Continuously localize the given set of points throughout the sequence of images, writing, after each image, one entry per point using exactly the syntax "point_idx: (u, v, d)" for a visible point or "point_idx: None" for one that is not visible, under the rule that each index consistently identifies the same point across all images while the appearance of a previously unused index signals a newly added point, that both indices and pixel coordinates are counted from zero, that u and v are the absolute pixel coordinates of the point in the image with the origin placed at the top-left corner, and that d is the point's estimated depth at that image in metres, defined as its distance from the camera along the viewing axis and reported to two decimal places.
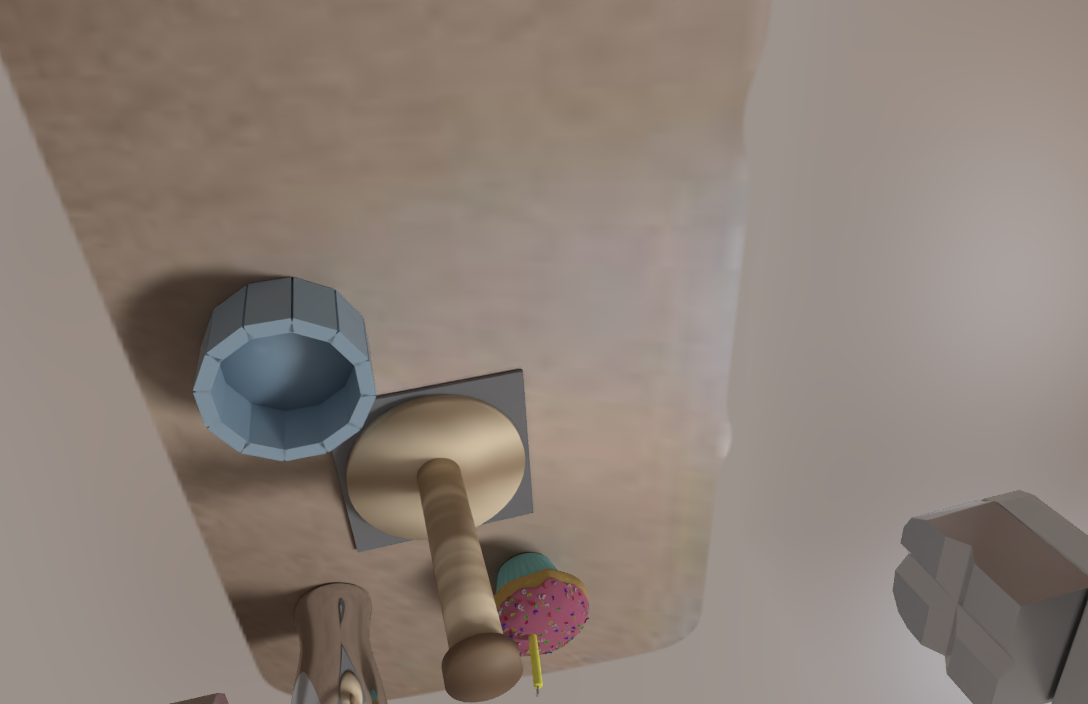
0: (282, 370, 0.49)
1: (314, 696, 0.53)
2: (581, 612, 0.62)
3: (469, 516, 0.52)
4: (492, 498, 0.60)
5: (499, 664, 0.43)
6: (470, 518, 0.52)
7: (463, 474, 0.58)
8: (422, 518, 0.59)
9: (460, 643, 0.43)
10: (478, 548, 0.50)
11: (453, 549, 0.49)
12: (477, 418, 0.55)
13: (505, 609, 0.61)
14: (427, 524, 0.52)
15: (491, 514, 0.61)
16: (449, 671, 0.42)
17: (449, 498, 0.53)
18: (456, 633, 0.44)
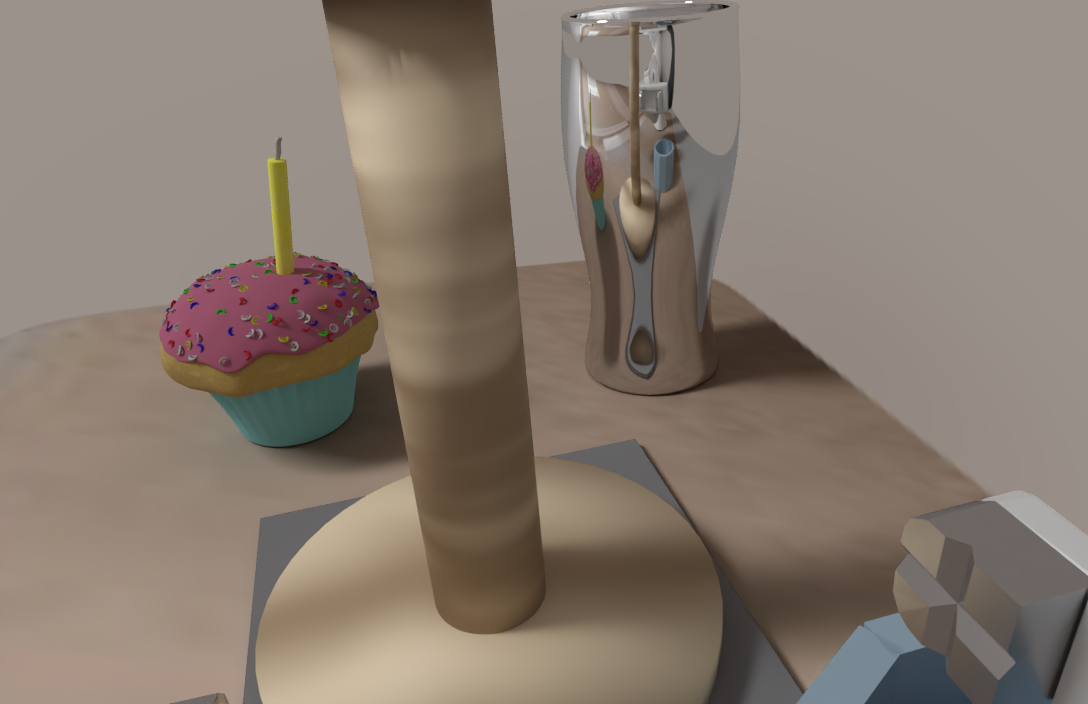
0: None
1: (708, 162, 0.29)
2: (176, 311, 0.30)
3: (420, 455, 0.19)
4: (354, 540, 0.25)
5: None
6: (416, 450, 0.19)
7: (426, 593, 0.22)
8: None
9: None
10: (397, 352, 0.17)
11: (470, 339, 0.17)
12: None
13: (337, 318, 0.30)
14: (530, 440, 0.20)
15: (358, 506, 0.26)
16: None
17: (472, 509, 0.19)
18: (477, 47, 0.15)
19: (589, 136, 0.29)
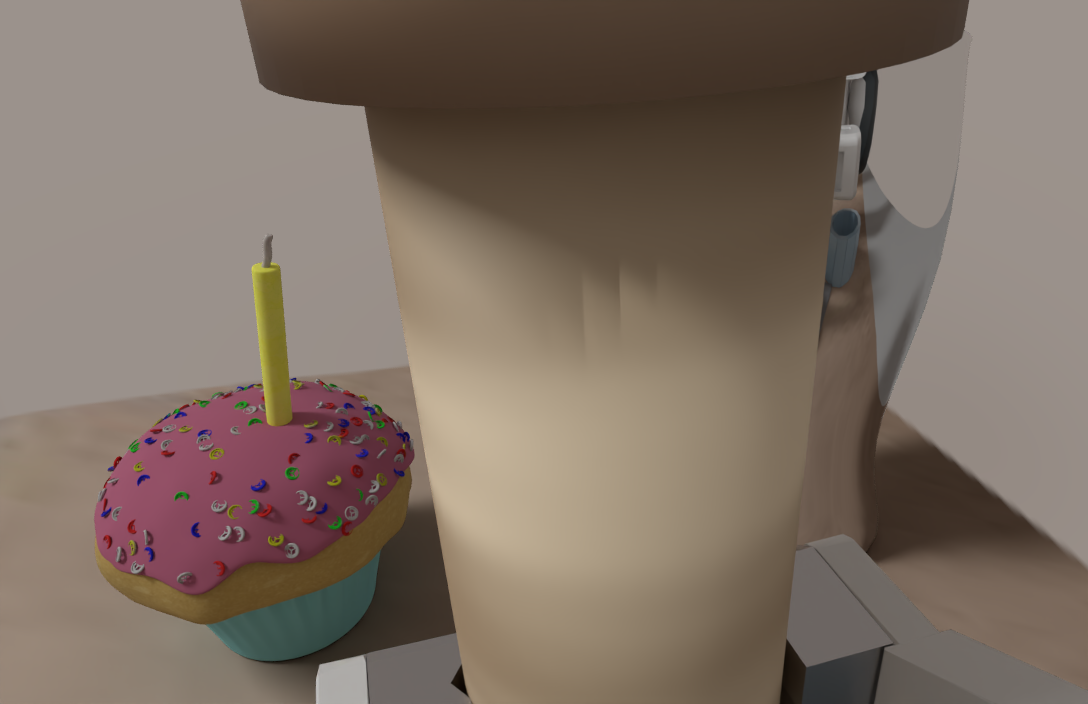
0: None
1: (916, 268, 0.19)
2: (117, 483, 0.20)
3: None
4: None
5: None
6: None
7: None
8: None
9: (919, 26, 0.04)
10: None
11: None
12: None
13: (356, 495, 0.20)
14: None
15: None
16: None
17: None
18: (821, 235, 0.05)
19: None
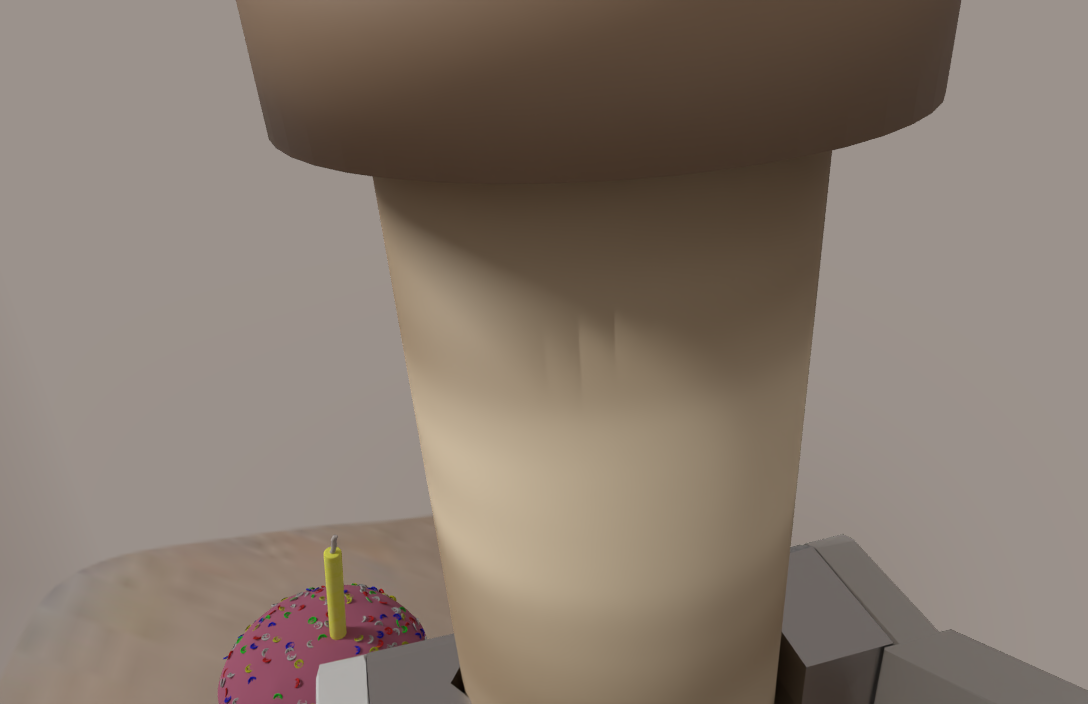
0: None
1: None
2: (233, 678, 0.31)
3: None
4: None
5: None
6: None
7: None
8: None
9: (900, 100, 0.04)
10: None
11: None
12: None
13: None
14: None
15: None
16: None
17: None
18: (808, 283, 0.05)
19: None
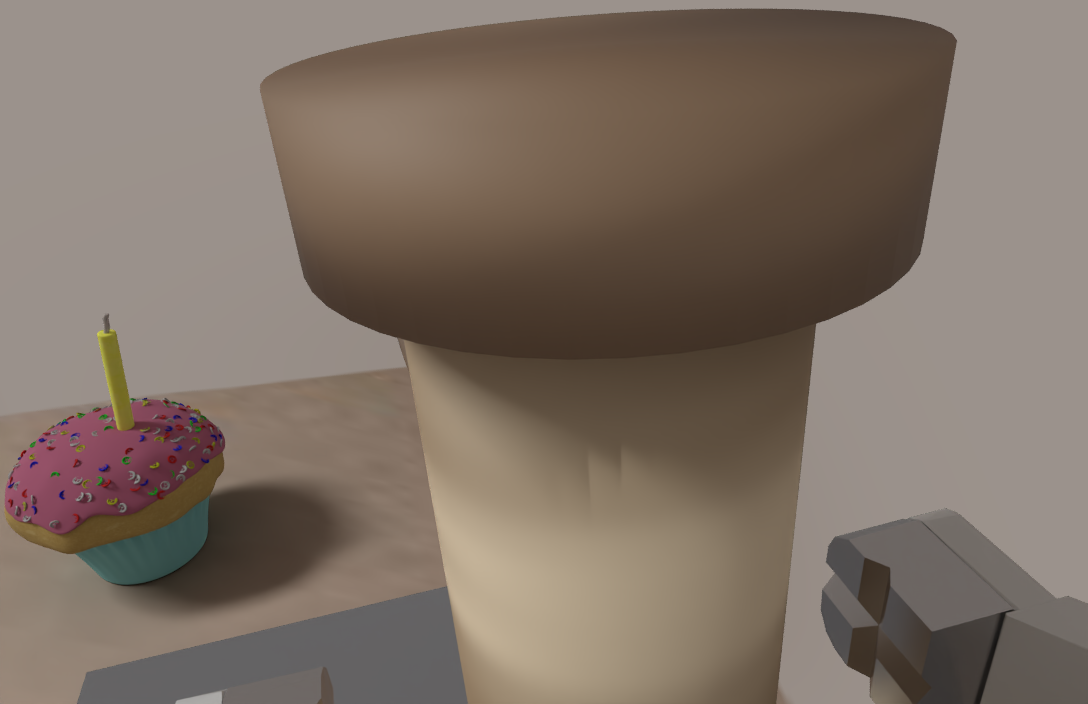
0: None
1: None
2: (19, 467, 0.32)
3: None
4: None
5: (483, 78, 0.04)
6: None
7: None
8: None
9: (878, 272, 0.04)
10: None
11: None
12: None
13: (169, 474, 0.32)
14: None
15: None
16: (954, 44, 0.05)
17: None
18: (798, 400, 0.06)
19: None
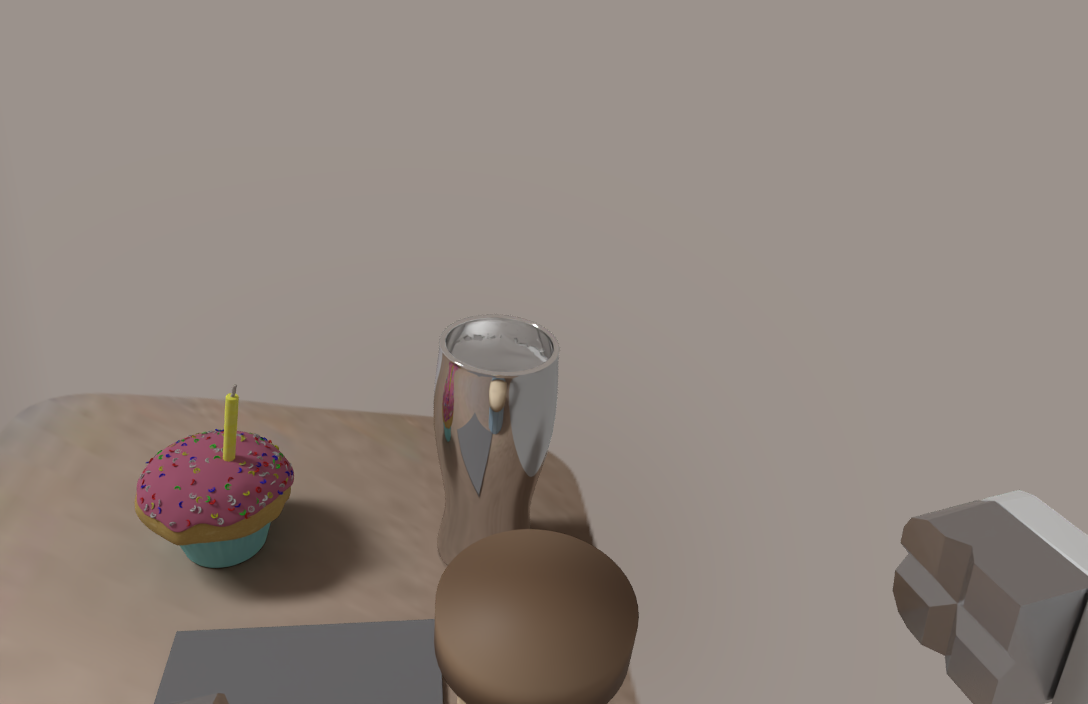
0: None
1: (518, 454, 0.42)
2: (150, 473, 0.44)
3: None
4: None
5: (498, 631, 0.16)
6: None
7: None
8: None
9: None
10: None
11: None
12: None
13: (255, 501, 0.44)
14: None
15: None
16: (630, 646, 0.16)
17: None
18: None
19: (442, 420, 0.43)
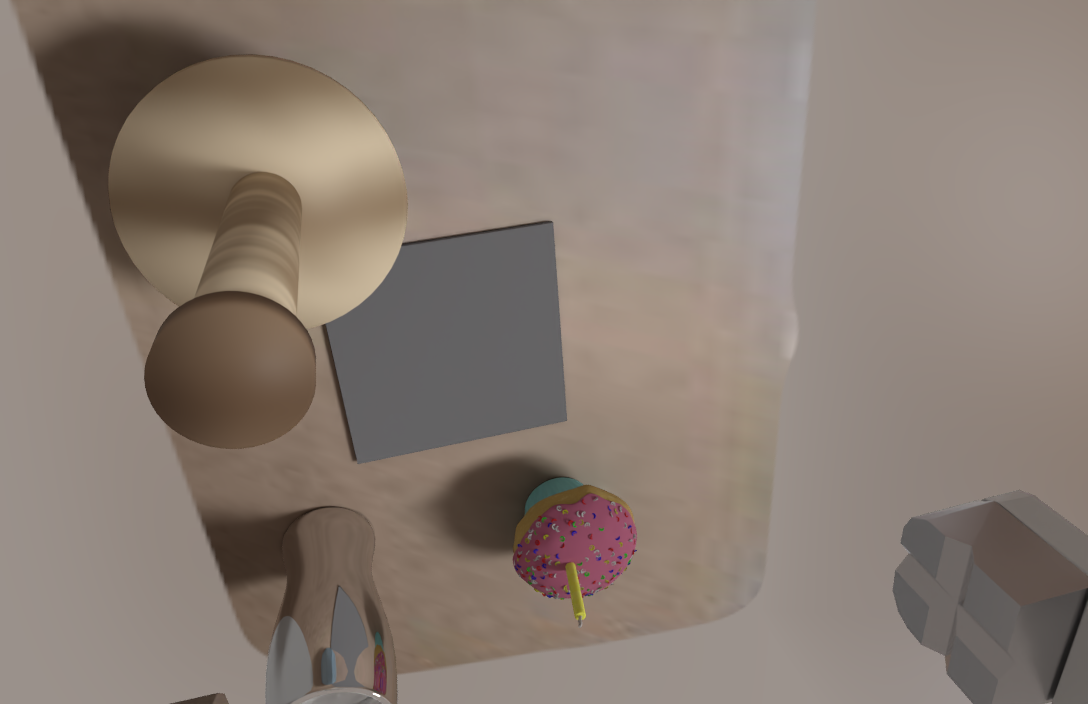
0: None
1: (300, 619, 0.43)
2: (628, 539, 0.51)
3: (286, 219, 0.31)
4: (360, 264, 0.39)
5: (260, 350, 0.21)
6: (288, 222, 0.31)
7: (307, 210, 0.37)
8: None
9: (181, 307, 0.21)
10: (287, 245, 0.29)
11: (236, 234, 0.28)
12: (318, 98, 0.35)
13: (537, 532, 0.50)
14: None
15: (362, 295, 0.39)
16: (149, 352, 0.21)
17: (258, 197, 0.32)
18: None
19: (381, 637, 0.43)
